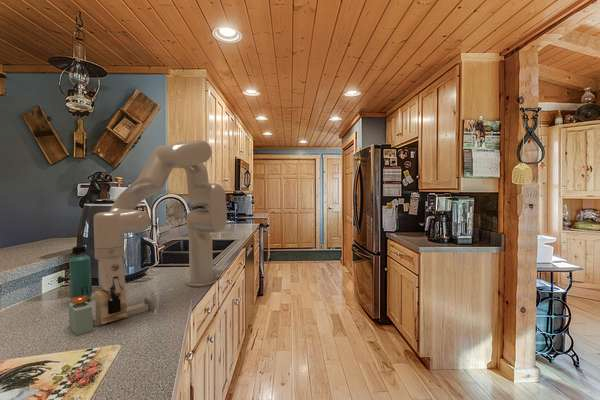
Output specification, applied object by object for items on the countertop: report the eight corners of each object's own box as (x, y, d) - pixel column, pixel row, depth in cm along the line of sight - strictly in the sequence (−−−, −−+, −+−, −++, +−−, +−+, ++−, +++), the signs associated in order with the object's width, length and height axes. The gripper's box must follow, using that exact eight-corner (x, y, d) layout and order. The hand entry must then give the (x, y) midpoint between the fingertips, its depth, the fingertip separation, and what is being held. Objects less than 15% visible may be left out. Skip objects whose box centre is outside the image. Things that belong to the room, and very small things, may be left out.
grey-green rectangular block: (85, 322, 92) (84, 299, 92) (93, 330, 87) (92, 306, 86) (69, 326, 89) (68, 303, 89) (76, 335, 84) (75, 311, 83)
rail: (147, 306, 104) (146, 297, 104) (152, 310, 101) (152, 300, 101) (91, 322, 92) (90, 312, 91) (95, 327, 89) (94, 316, 88)
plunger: (86, 314, 90) (85, 294, 90) (89, 318, 88) (88, 297, 88) (71, 318, 88) (70, 297, 87) (74, 322, 85) (73, 301, 85)
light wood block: (121, 312, 98) (120, 285, 98) (126, 316, 95) (126, 289, 94) (96, 319, 93) (95, 291, 92) (101, 324, 89) (100, 295, 89)
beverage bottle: (81, 305, 105) (78, 248, 104) (65, 304, 106) (63, 247, 105) (97, 298, 111) (95, 244, 110) (82, 297, 112) (80, 244, 112)
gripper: (132, 254, 90) (134, 313, 91) (113, 246, 101) (115, 299, 102) (104, 258, 84) (106, 322, 85) (87, 250, 96) (89, 306, 97)
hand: (111, 309), depth 94 cm, fingers closed on light wood block, 5 cm apart
